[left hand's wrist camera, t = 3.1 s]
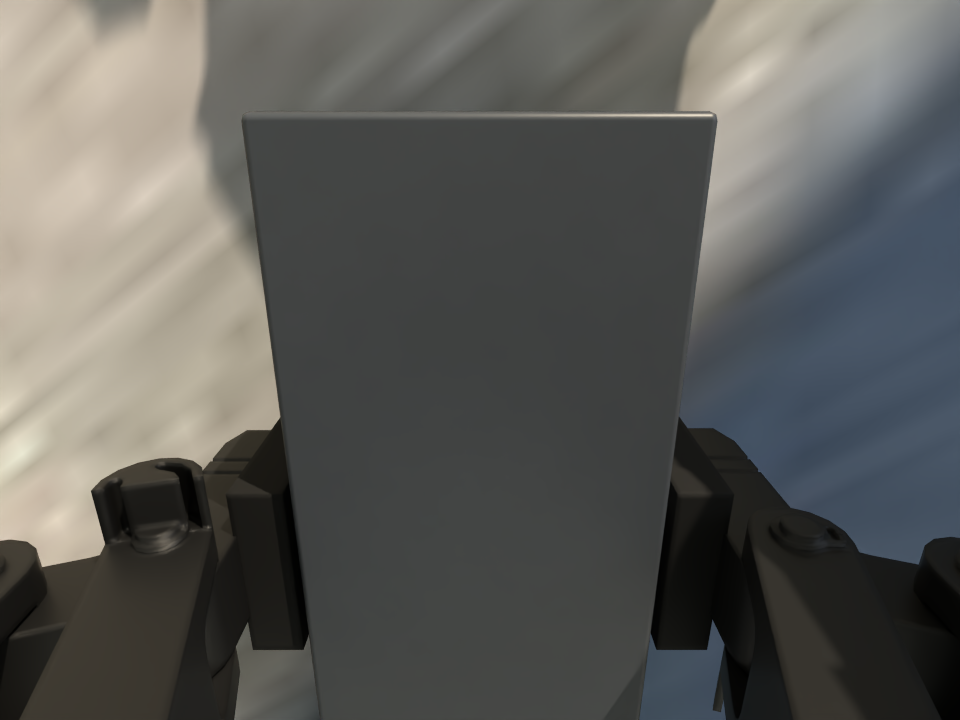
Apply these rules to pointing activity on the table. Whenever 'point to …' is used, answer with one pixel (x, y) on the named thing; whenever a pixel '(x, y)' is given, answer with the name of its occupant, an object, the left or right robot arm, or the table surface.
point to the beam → (479, 395)
